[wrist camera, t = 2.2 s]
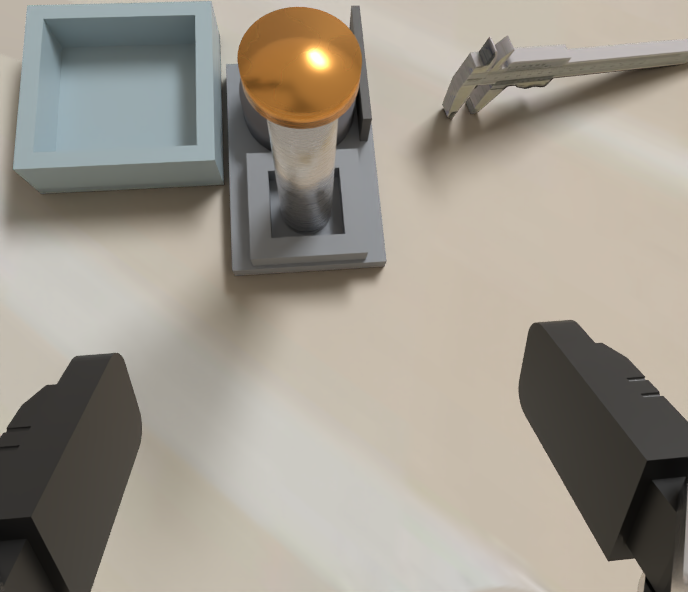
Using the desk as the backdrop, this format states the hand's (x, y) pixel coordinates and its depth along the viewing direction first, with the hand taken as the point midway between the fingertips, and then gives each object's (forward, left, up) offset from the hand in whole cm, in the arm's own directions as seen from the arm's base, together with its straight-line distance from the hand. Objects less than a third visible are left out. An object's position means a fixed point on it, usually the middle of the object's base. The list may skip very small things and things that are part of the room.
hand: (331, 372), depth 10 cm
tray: (-11, +20, -19) cm, 29 cm away
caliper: (+19, +21, -20) cm, 35 cm away
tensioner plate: (0, +15, -19) cm, 24 cm away
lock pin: (0, +12, -18) cm, 22 cm away
